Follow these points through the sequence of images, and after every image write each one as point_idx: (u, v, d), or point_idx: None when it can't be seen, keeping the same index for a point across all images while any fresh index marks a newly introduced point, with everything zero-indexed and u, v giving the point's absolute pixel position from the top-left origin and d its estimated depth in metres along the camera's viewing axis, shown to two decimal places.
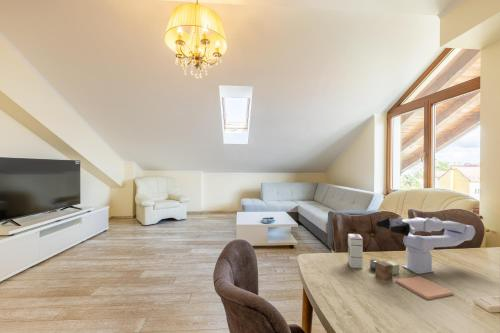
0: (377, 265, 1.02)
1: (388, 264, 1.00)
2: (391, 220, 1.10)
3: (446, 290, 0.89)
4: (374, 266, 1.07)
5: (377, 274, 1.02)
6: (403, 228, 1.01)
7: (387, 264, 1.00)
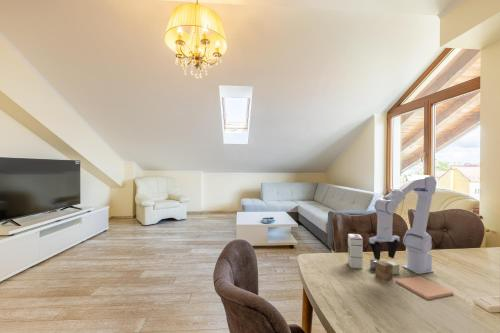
0: (377, 265, 1.02)
1: (388, 264, 1.00)
2: None
3: (446, 290, 0.89)
4: (374, 266, 1.07)
5: (377, 274, 1.02)
6: None
7: (387, 264, 1.00)
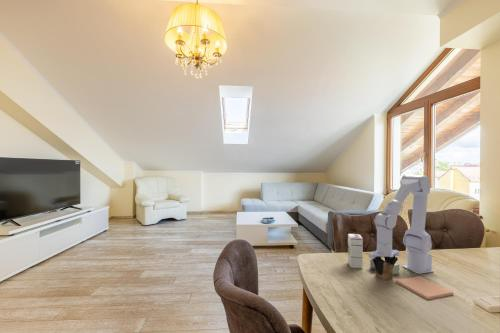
0: None
1: (388, 264, 1.00)
2: None
3: (446, 290, 0.89)
4: (374, 266, 1.07)
5: (377, 274, 1.02)
6: None
7: (387, 264, 1.00)
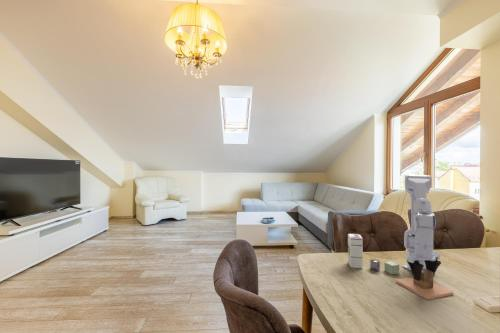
0: None
1: (428, 271, 0.91)
2: None
3: (446, 290, 0.89)
4: (374, 266, 1.07)
5: (415, 282, 0.93)
6: None
7: (427, 271, 0.91)
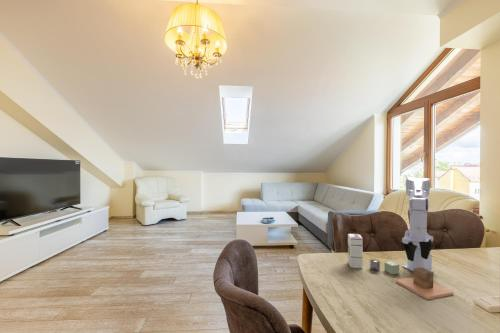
0: (415, 272, 0.93)
1: (428, 271, 0.91)
2: None
3: (446, 290, 0.89)
4: (374, 266, 1.07)
5: (415, 282, 0.93)
6: None
7: (427, 271, 0.91)
